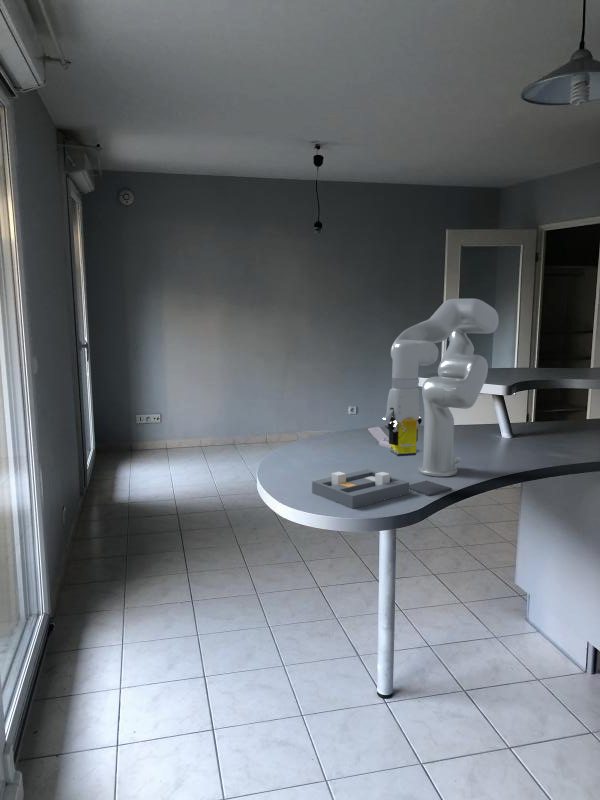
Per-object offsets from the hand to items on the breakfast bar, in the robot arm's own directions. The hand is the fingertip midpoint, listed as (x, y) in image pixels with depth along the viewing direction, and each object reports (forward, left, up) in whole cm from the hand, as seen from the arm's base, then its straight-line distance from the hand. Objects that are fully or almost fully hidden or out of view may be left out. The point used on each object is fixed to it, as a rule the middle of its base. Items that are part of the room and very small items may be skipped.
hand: (403, 442), depth 187 cm
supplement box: (0, 0, -4) cm, 4 cm away
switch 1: (+18, -8, -12) cm, 23 cm away
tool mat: (-6, +5, -14) cm, 16 cm away
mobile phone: (-37, -42, -15) cm, 57 cm away
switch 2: (+8, 0, -12) cm, 15 cm away
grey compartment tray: (+13, -4, -14) cm, 20 cm away
